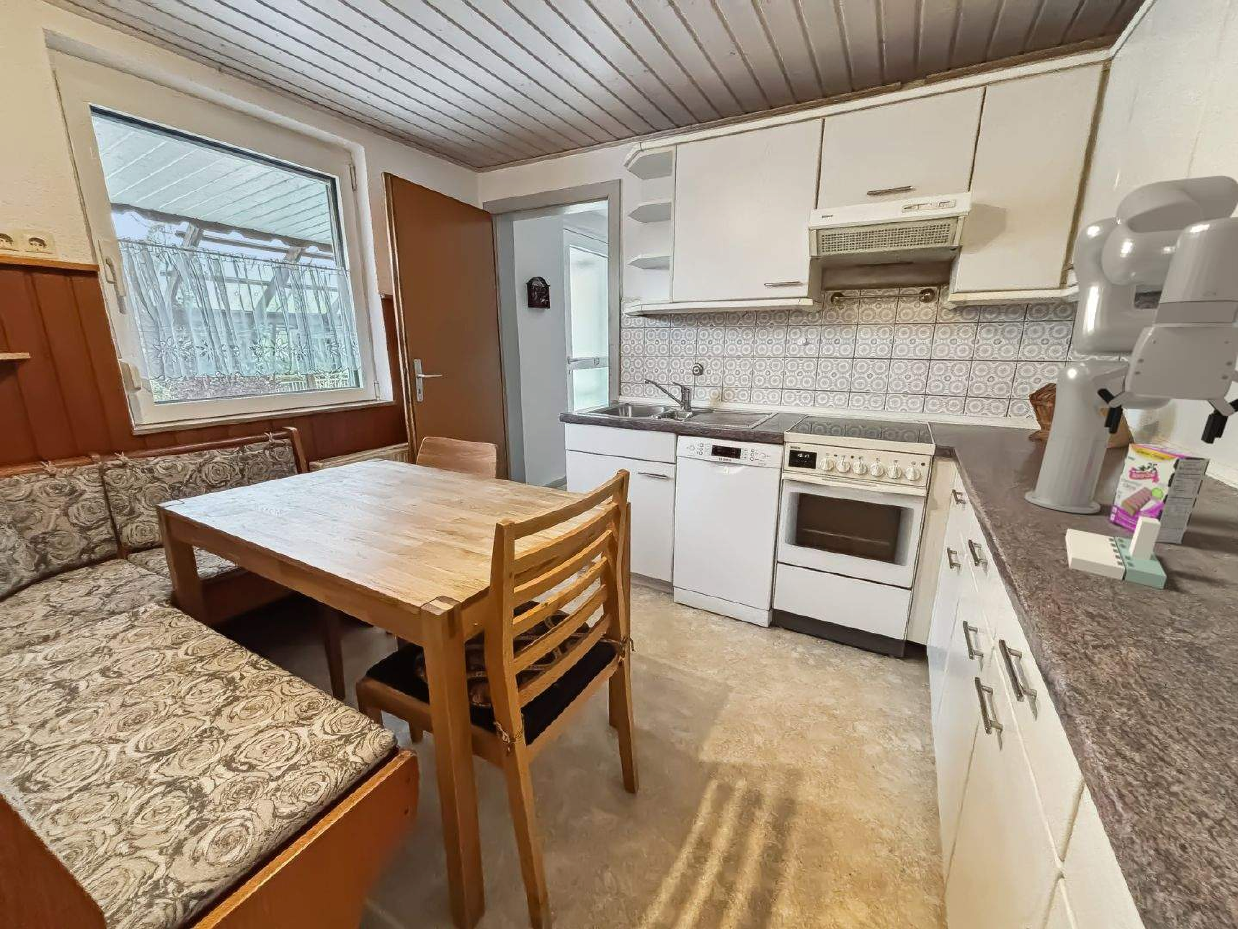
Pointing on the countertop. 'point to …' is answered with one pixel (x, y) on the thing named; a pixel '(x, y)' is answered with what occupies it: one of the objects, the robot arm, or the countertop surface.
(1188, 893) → the countertop surface
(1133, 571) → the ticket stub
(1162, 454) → the candy bar box
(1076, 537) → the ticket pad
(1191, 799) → the countertop surface
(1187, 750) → the countertop surface
